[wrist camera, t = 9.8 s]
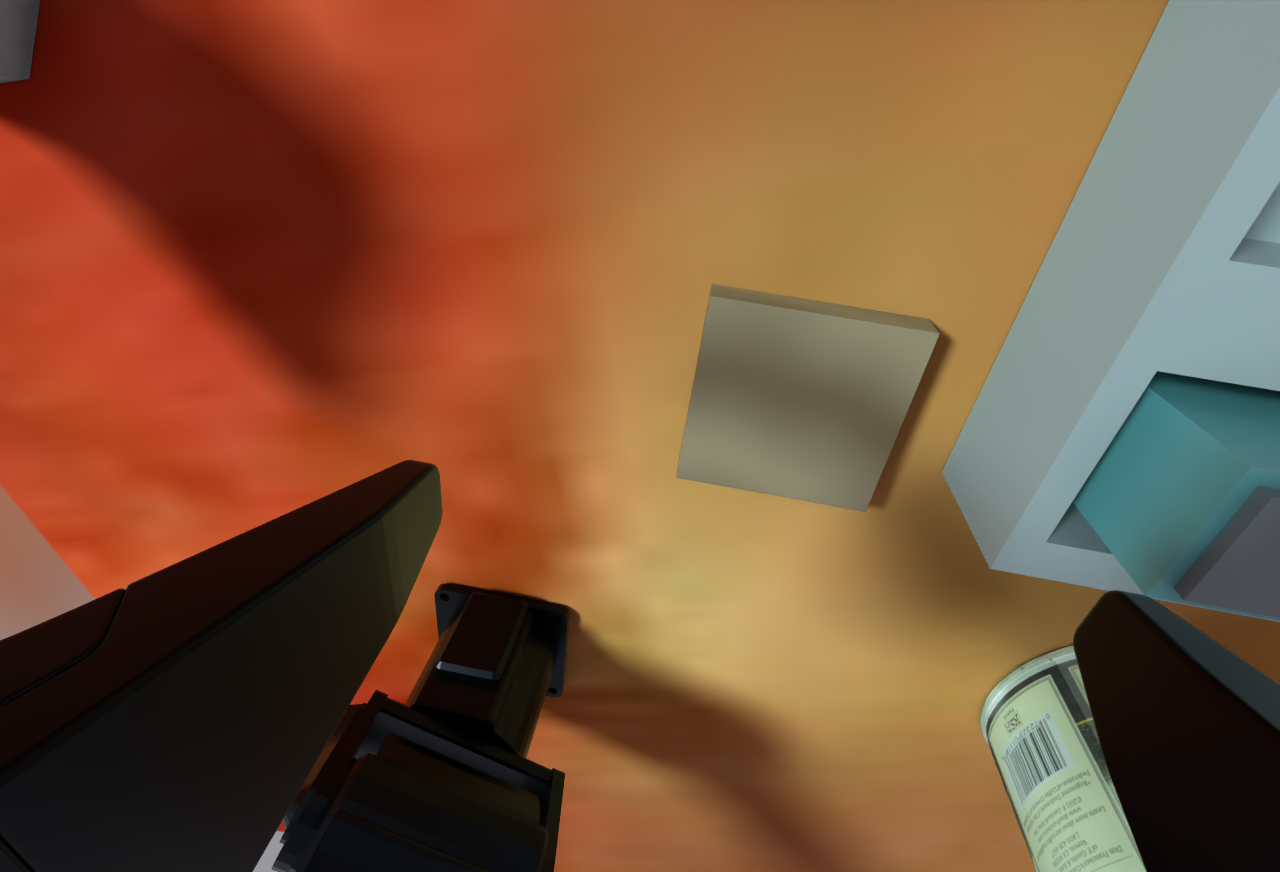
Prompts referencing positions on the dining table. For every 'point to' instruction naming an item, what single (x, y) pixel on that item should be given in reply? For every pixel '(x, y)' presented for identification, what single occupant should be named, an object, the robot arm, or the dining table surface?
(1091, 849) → the coffee can
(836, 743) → the dining table surface
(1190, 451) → the plug
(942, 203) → the dining table surface
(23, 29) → the coffee maker
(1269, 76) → the socket block
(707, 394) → the beige square plate
